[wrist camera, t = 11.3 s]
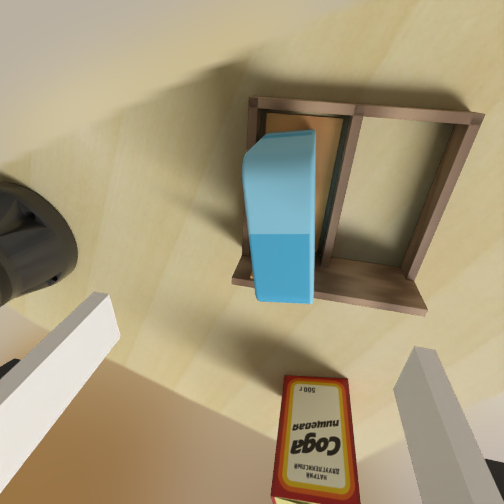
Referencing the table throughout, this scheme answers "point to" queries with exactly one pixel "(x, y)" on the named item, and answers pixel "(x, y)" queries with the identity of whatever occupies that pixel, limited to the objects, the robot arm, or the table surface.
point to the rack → (327, 139)
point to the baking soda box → (315, 444)
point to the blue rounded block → (282, 215)
